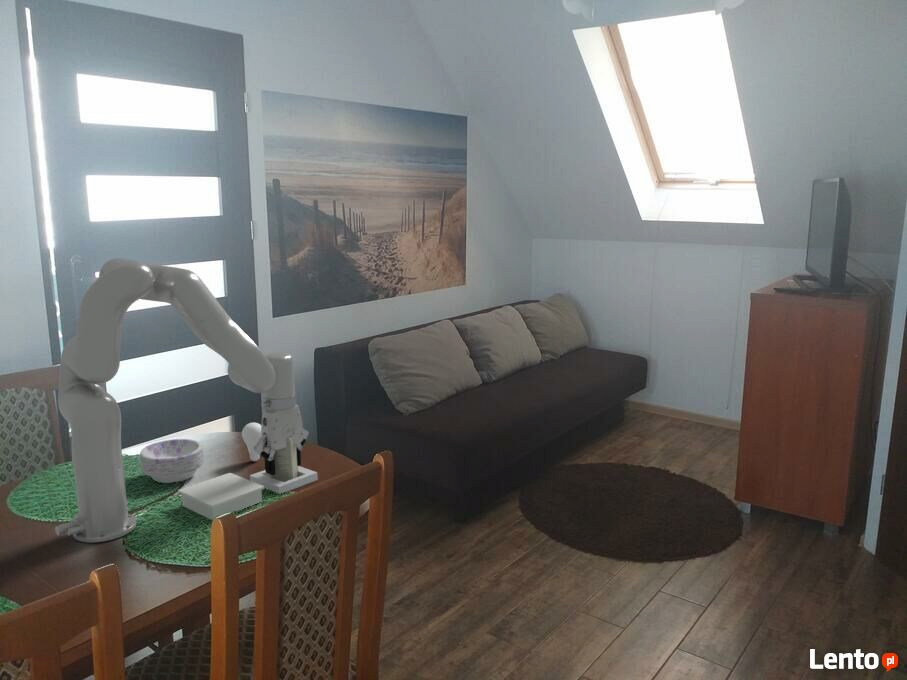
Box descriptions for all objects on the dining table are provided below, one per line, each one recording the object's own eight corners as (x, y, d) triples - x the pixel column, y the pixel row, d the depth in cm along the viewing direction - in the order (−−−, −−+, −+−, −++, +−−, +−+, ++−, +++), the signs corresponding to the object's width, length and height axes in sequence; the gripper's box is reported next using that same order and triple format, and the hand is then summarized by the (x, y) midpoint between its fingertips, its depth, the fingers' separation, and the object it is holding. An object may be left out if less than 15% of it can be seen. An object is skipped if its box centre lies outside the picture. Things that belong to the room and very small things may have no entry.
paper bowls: (163, 493, 177) (161, 462, 176) (130, 479, 186) (128, 449, 185) (216, 474, 189) (214, 445, 188) (183, 462, 198) (181, 434, 197)
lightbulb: (255, 455, 203) (253, 418, 200) (271, 459, 200) (268, 421, 197) (238, 462, 197) (236, 424, 195) (254, 466, 194) (252, 427, 192)
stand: (213, 522, 161) (211, 505, 160) (179, 505, 170) (178, 489, 169) (265, 502, 172) (264, 486, 171) (230, 487, 180) (230, 472, 179)
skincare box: (298, 478, 186) (296, 433, 184) (293, 485, 182) (291, 439, 179) (275, 477, 187) (272, 432, 184) (269, 484, 182) (266, 438, 180)
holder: (279, 494, 176) (279, 486, 176) (250, 482, 183) (249, 475, 183) (317, 479, 185) (317, 472, 185) (288, 469, 193) (287, 462, 192)
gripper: (260, 413, 171) (264, 483, 175) (316, 397, 185) (319, 463, 188) (241, 407, 176) (245, 475, 179) (298, 392, 189) (301, 456, 193)
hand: (283, 468), depth 184 cm, fingers open, 7 cm apart
